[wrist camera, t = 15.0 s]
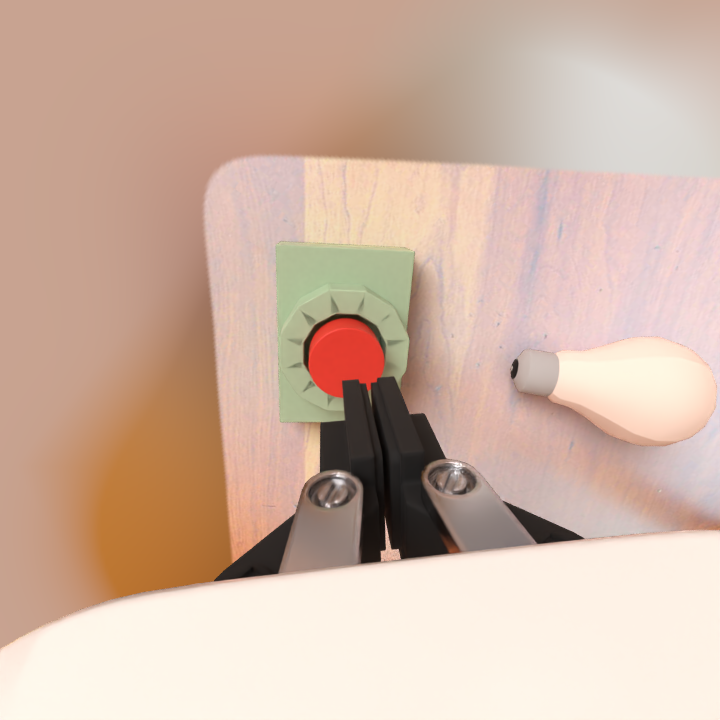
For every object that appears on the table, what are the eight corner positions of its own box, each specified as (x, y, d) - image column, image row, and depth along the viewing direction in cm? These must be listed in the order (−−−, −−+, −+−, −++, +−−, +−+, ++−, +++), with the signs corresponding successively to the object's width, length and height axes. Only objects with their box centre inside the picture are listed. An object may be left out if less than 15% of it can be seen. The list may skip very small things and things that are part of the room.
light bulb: (512, 435, 21) (731, 477, 20) (539, 317, 20) (772, 352, 19) (490, 405, 27) (653, 435, 26) (509, 314, 26) (680, 340, 25)
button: (309, 316, 19) (308, 326, 17) (381, 318, 19) (387, 328, 17) (308, 383, 20) (308, 398, 18) (376, 383, 20) (381, 398, 19)
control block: (279, 241, 21) (271, 248, 17) (406, 247, 21) (424, 255, 18) (282, 404, 24) (276, 439, 21) (391, 404, 25) (403, 438, 21)
